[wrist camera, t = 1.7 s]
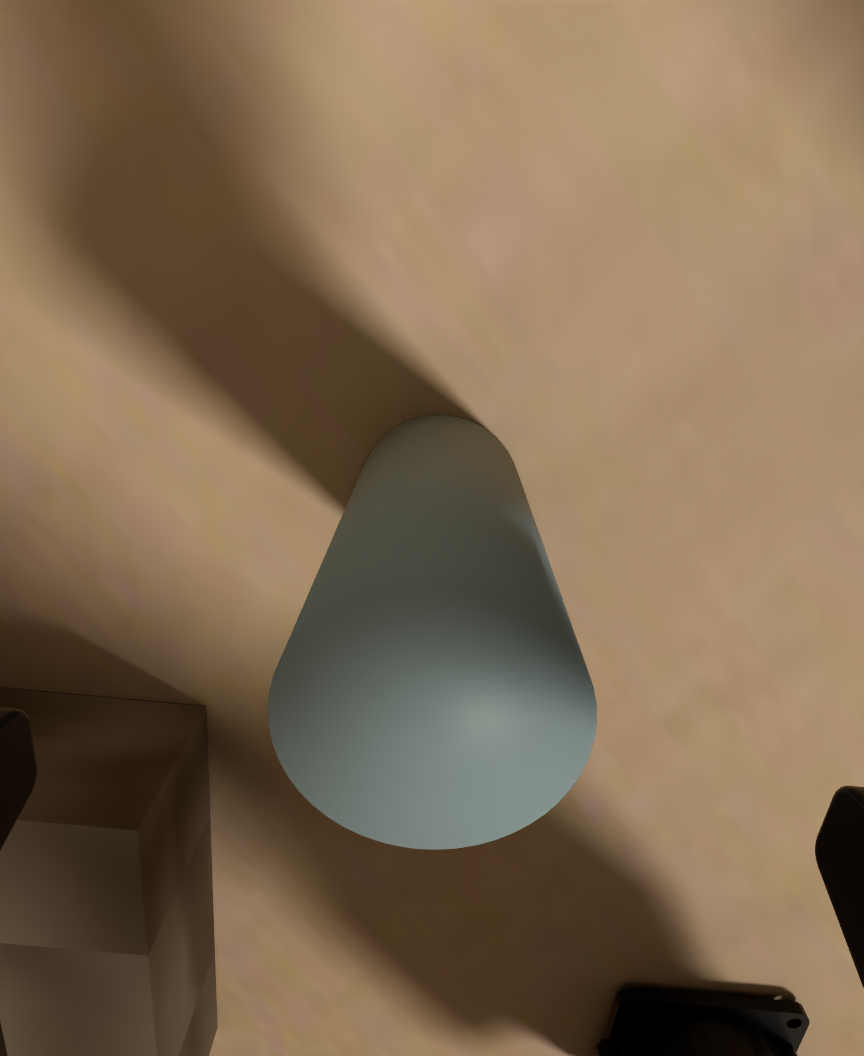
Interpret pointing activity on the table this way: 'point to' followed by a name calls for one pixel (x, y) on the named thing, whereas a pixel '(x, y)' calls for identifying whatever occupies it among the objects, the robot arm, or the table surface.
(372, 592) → the peg
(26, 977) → the socket block
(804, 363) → the table surface
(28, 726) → the robot arm
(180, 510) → the table surface
